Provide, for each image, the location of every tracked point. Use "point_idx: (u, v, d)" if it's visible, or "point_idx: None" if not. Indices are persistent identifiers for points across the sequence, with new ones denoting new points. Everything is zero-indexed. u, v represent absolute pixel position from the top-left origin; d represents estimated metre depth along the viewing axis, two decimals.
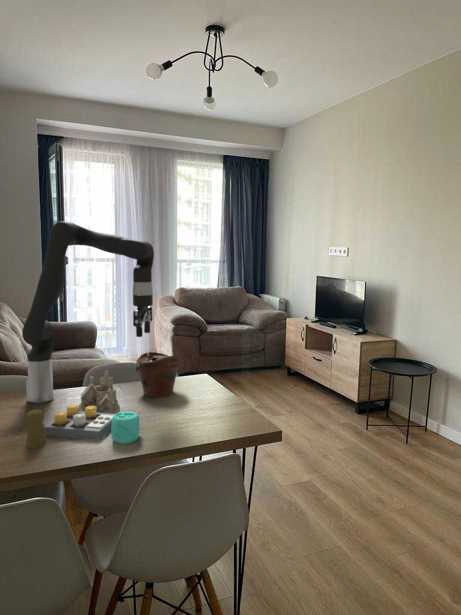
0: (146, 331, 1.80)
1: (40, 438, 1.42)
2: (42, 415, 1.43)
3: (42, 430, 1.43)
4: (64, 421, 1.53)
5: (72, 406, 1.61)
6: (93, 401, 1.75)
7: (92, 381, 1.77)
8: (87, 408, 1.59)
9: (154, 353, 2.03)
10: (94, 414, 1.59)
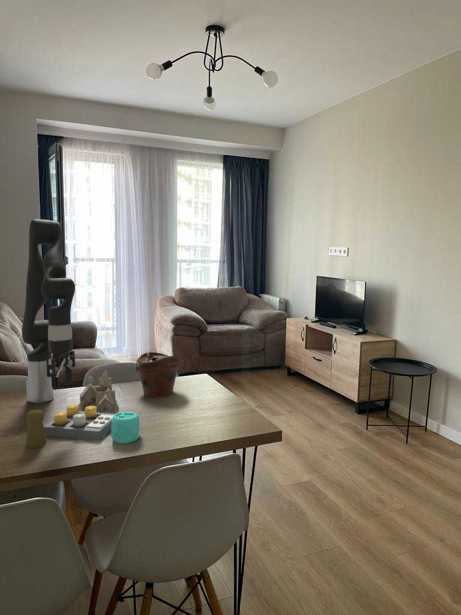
0: (67, 379, 1.57)
1: (40, 438, 1.42)
2: (42, 415, 1.43)
3: (42, 430, 1.43)
4: (64, 421, 1.53)
5: (72, 406, 1.61)
6: (92, 401, 1.74)
7: (91, 381, 1.77)
8: (87, 408, 1.59)
9: (154, 353, 2.03)
10: (94, 414, 1.59)
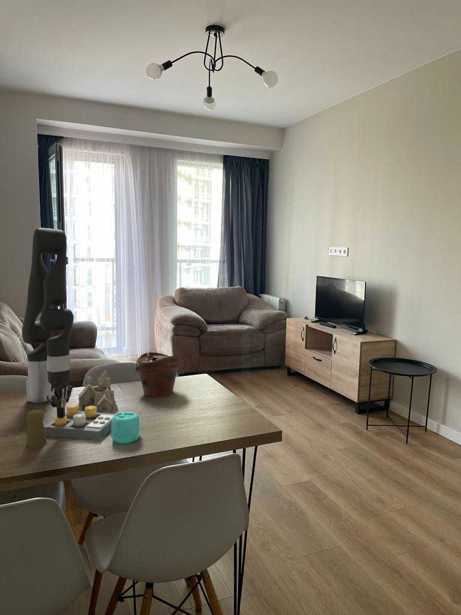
0: None
1: (40, 438, 1.42)
2: (42, 415, 1.43)
3: (42, 430, 1.43)
4: (64, 424, 1.53)
5: (72, 406, 1.61)
6: (91, 401, 1.74)
7: (90, 381, 1.76)
8: (87, 408, 1.59)
9: (154, 353, 2.03)
10: (94, 414, 1.59)
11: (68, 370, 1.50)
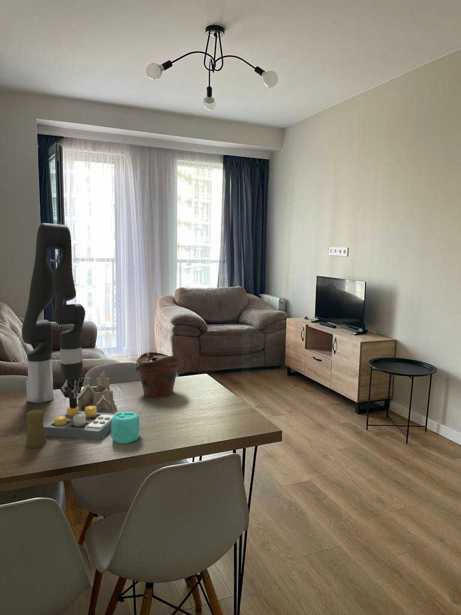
0: None
1: (40, 438, 1.42)
2: (42, 415, 1.43)
3: (42, 430, 1.43)
4: (64, 425, 1.53)
5: None
6: (90, 402, 1.74)
7: (89, 382, 1.76)
8: (87, 408, 1.59)
9: (154, 353, 2.03)
10: (94, 414, 1.59)
11: (80, 362, 1.58)
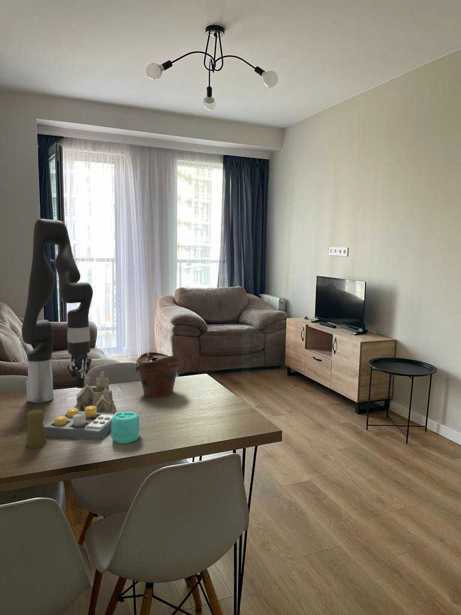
0: None
1: (40, 438, 1.42)
2: (42, 415, 1.43)
3: (42, 430, 1.43)
4: (64, 425, 1.53)
5: (72, 410, 1.61)
6: (89, 402, 1.73)
7: (88, 382, 1.76)
8: (87, 408, 1.59)
9: (154, 353, 2.03)
10: (94, 414, 1.59)
11: (87, 341, 1.56)
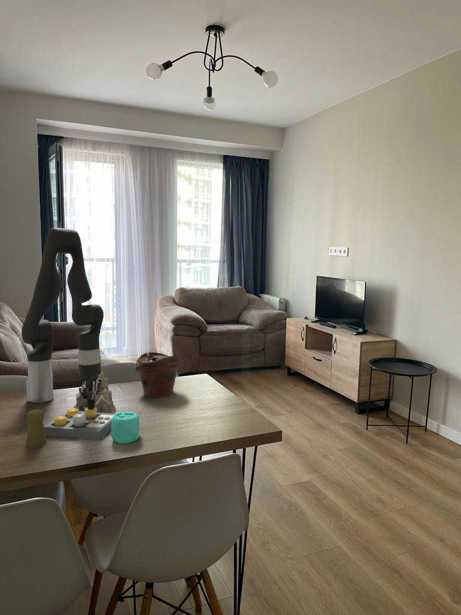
0: None
1: (40, 438, 1.42)
2: (42, 415, 1.43)
3: (42, 430, 1.43)
4: (64, 425, 1.53)
5: (72, 410, 1.61)
6: None
7: None
8: (87, 409, 1.59)
9: (154, 353, 2.03)
10: (94, 415, 1.59)
11: (98, 363, 1.57)
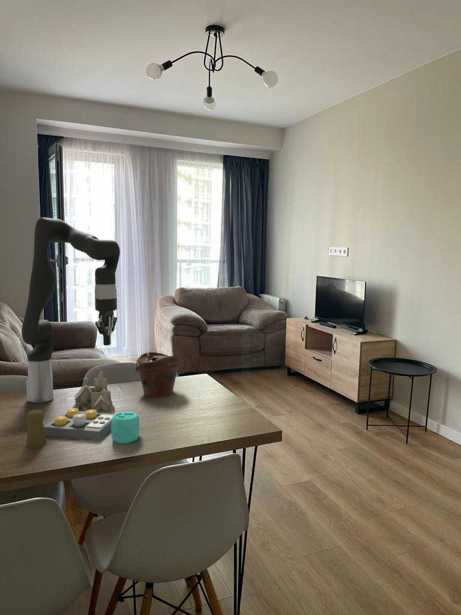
0: None
1: (40, 438, 1.42)
2: (42, 415, 1.43)
3: (42, 430, 1.43)
4: (64, 425, 1.53)
5: (72, 410, 1.61)
6: (87, 402, 1.73)
7: (86, 382, 1.76)
8: (87, 412, 1.59)
9: (154, 353, 2.03)
10: (94, 418, 1.59)
11: (115, 299, 1.58)
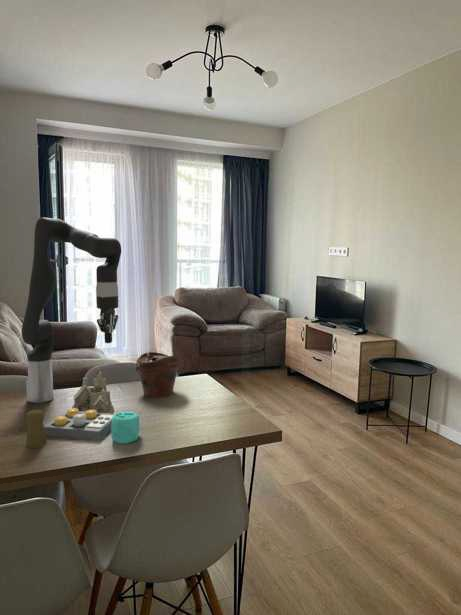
0: None
1: (40, 438, 1.42)
2: (42, 415, 1.43)
3: (42, 430, 1.43)
4: (64, 425, 1.53)
5: (72, 410, 1.61)
6: (86, 402, 1.73)
7: (85, 382, 1.75)
8: (87, 412, 1.59)
9: (154, 353, 2.03)
10: (94, 418, 1.59)
11: (116, 296, 1.58)
